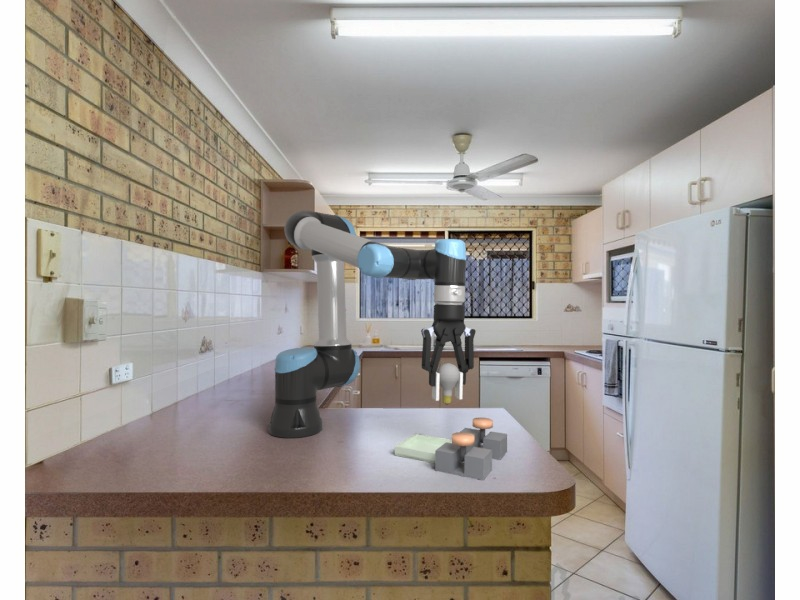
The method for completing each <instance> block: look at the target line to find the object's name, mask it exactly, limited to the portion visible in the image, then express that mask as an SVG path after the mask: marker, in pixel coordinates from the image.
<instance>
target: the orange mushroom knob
mask: <svg viewBox="0 0 800 600" xmlns="http://www.w3.org/2000/svg"><path fill="white" fill-rule="evenodd" d="M493 425H494V420H493V419H491V418H489V417H475V418H473V419H472V427H473V428H474V429H477V430H480V443H481V444H483V438H484V437H485V436H486V430H490V429H493V427H494V426H493Z"/></svg>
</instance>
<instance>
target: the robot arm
mask: <svg viewBox="0 0 800 600" xmlns="http://www.w3.org/2000/svg"><path fill="white" fill-rule="evenodd" d="M283 231H284V235H285V237H286V238H285V239H286V240H287V241H288V243H289V244H290V245H292V246H293V247H296V248H298V249H301V250H304V251H311V258H312V260H313V261H314V262H315V263H316V282H317V283H316V285H317V289H316V290H317V316H318V317H317V320H318V321H317V323H318V324H317V325H318V340H317V341H316V342H315V343H314V344H313V347H309V346H307V347H304V346H302V347H294V348H290V349H286V350H282V351H281V352H279V353H278V354H277V355H276V357H275V363H274V364H275V365H274V372H275V373H274V375H275V376H274V377H275V379H274V383H275V384H274V391H275V392H274V400H275V401H274V407H273V411H272V413H271V417H270V421H269V422H268V433H269V435H271V436H274V437H278V438H285V439H287V438H289V439H290V438H291V439H292V438H295V439H296V438H304V437H309V436H314V435H316V434H319V433H320V432H321V431H323V420H322V418H321V413H320V410H319V407H318V403H317V392H318V391H321V390H327V389H333V388H342V387H344V386H347V385H350V384H352V383H353V382H354V381H355V379H357V378H358V376H359V373H360V369H361V368H360V367H361V362H360V357H359V355H358V352H357V351H356V350H355V349H354V348H352V342H351V341H350V340H349V339H348V338H347V314H346V311H347V310H346V309H347V308H346V284H345V283H346V282H345V281H346V277H345V264H347V265H351V266H353V267H355V268H358V269H359V270H360V272H361V274H363V275H364V276H368V277H371V278H374V279H375V278H377V279H378V278H380V279H381V278H389V279H402V280H408V281H410V280H411V281H416V280H434V281H433V284H434V285H433V288H434V289H433V301H434V302H435V304H434V305H433V316H432V317H433V323H432V325H431V326H429V327H427V328H421V331H420V332H421V335H422V353H421V354H422V355H421V369H423V370H424V371H426V372H428V384H429V386H430V387H431V388H432V389H431V399H432V400H434V401H436V402H438V401H440V383H439V380H440V374H439V373H437V371H438V369H439V364H440V361H441V357H442V354H443V351H444V347H445V346H446V343H449V342H451V345H452V347H453V353H454V357H455V360H456V364H457V365H456V366H457V368H458V370H459V380H458V382H457V383H456V385H455V387H454V398H456V399H458V400H463V392H464V391H463V387H464V386H466V384H467V373H468V372H469V370H473V369H474V366H475V365H474V364H475V363H474V362H475V361H474V360H475V359H474V354H475V353H474V351H475V350H474V349H475V348H474V338H475V335H476V331H477V330H476V329H474V328H469V327H467V326H466V324H465V314H466V312H465V311H466V307H465V305H464V304H463V303H464V302H466V265H467V254H466V253H467V251H466V243H465V241H463V240H462V239H457V238H445V239H444V238H441V239H437V240H436V241H435V245H434V248H431V249H413V248H405V247H396V246H391V245H387V244H383V243H381V242H376V241H374V240H370V239H369V238H366V237H362V236H359V235H356V234H357V233H356V230H355V227H354V225H353V223H352V222H351V221H350V220H349V219H348V218H346V217H343V216H340V215H337V214H329V213H325V212H324V213H323V212H317V211H312V210H305V209H303V210H298V211H296V212H293V213H292V214H291V215H290V216H289V217H288V218H287V219H286V221H285V224H284V230H283ZM433 333H434V335H435V336H436V337H435V342H434V343H435V345H434V347H433V351H432V337H433ZM462 335H464V351H463V347H462V344H463V342H462V338H461V336H462ZM431 351H432V352H431Z"/></svg>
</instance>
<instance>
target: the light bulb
mask: <svg viewBox="0 0 800 600" xmlns="http://www.w3.org/2000/svg"><path fill="white" fill-rule="evenodd" d="M437 373H439V374H440V380H439V386H440V387H441V388H442V403H443V404H445V405H446V406H447V405H449V404H451V403H452V397H453V391H454V389H455V385H456V383H457V382H458V380H459V369H458V366H457V365H455V364H452V363H450V362H446V363H443V364H441V365H440V366H438V368H437Z"/></svg>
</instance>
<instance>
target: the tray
mask: <svg viewBox="0 0 800 600" xmlns="http://www.w3.org/2000/svg"><path fill="white" fill-rule="evenodd" d="M446 442H448V443H452V438H451V439H450V438H449V439H448V438H444V437H439V436H433V435H426V434H421V433H420V434H418V433H415V434H412V435H411V436H410V437H408V438H406V439H404V440H403V441H401V442H400V443H398V444H396V445H395V446H394V456H397V457H401V458H406V459H411V460H415V461H416V460H417V461H422V462H427V463H432V464H435V450H437V449H438V448H439V447H441V446H442V445H443V444H444V443H446Z"/></svg>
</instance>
